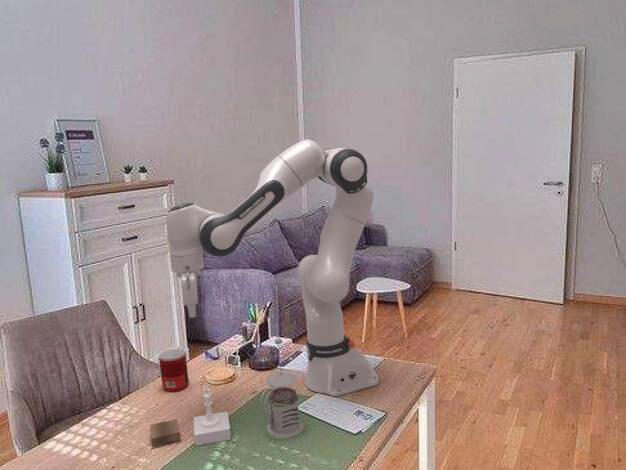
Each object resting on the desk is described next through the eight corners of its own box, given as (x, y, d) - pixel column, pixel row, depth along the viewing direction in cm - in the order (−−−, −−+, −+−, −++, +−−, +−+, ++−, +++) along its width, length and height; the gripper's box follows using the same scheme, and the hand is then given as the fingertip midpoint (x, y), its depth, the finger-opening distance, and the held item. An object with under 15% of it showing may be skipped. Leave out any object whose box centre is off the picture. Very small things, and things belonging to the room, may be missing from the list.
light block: (228, 421, 144) (227, 411, 143) (231, 439, 135) (230, 428, 134) (194, 427, 142) (193, 417, 141) (195, 446, 133) (194, 435, 133)
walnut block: (178, 428, 142) (176, 418, 142) (181, 442, 136) (179, 431, 135) (151, 435, 140) (149, 425, 139) (152, 449, 133) (151, 438, 133)
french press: (311, 427, 138) (305, 337, 134) (276, 446, 131) (268, 351, 126) (288, 413, 146) (281, 328, 141) (253, 431, 138) (245, 341, 133)
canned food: (192, 386, 165) (188, 354, 163) (167, 395, 161) (163, 361, 159) (183, 378, 171) (180, 346, 169) (159, 386, 167) (155, 353, 165)
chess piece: (216, 428, 135) (212, 392, 133) (198, 428, 136) (194, 392, 134) (222, 418, 140) (218, 383, 138) (204, 417, 141) (200, 383, 139)
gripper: (199, 270, 135) (205, 321, 137) (198, 254, 154) (203, 299, 157) (174, 273, 133) (180, 325, 136) (176, 256, 153) (181, 301, 156)
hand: (192, 311), depth 147 cm, fingers open, 8 cm apart
